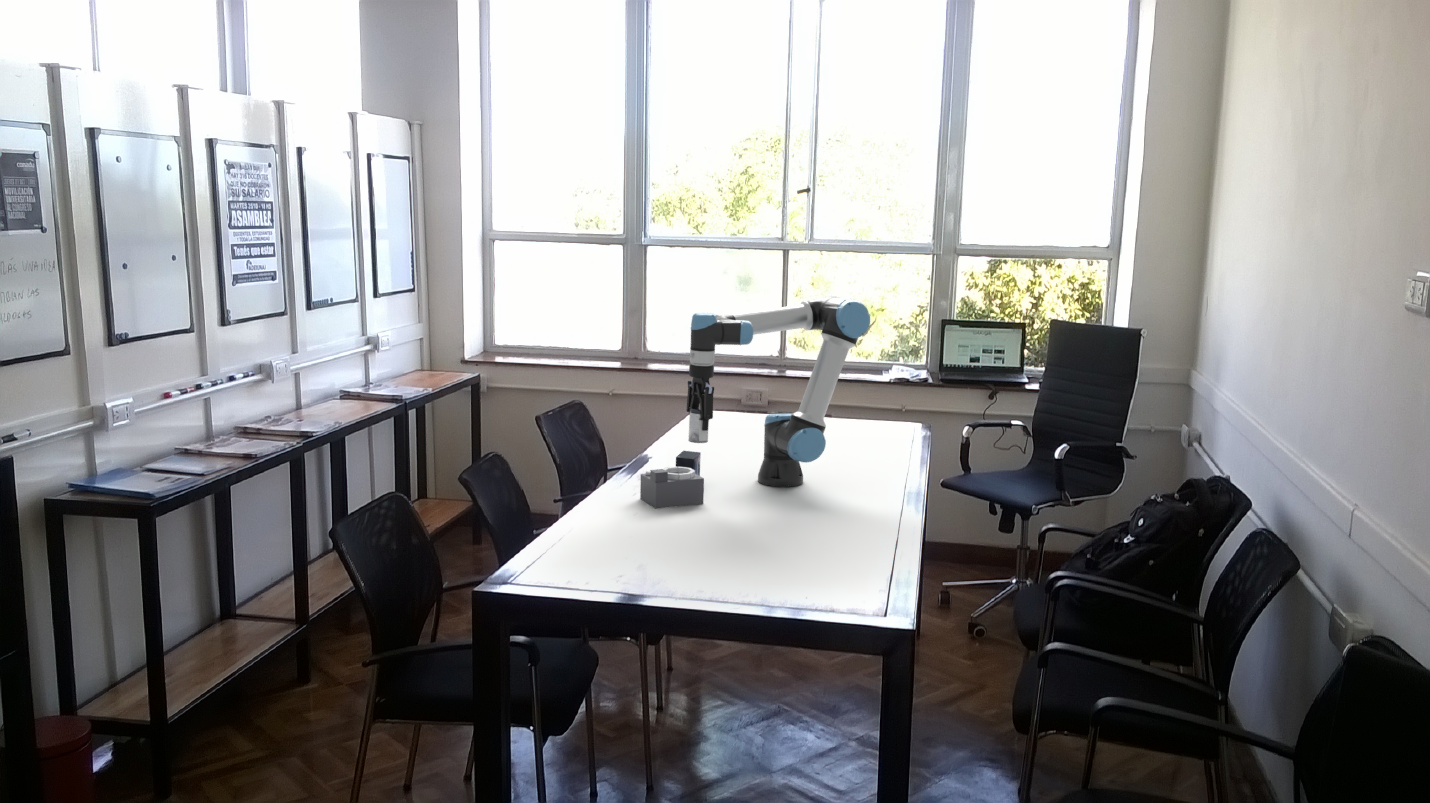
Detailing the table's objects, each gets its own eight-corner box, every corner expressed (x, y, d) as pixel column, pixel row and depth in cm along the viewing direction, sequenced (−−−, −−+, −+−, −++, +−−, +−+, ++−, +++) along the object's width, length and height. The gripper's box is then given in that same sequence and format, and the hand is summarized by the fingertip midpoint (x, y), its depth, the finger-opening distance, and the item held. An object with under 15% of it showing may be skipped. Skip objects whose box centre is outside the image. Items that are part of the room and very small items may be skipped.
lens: (702, 438, 342) (704, 407, 341) (711, 442, 337) (712, 410, 335) (685, 439, 340) (686, 407, 338) (693, 443, 334) (695, 411, 333)
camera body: (686, 494, 349) (687, 460, 347) (703, 503, 338) (704, 468, 336) (640, 498, 342) (640, 464, 340) (655, 508, 331) (656, 473, 329)
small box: (693, 490, 354) (694, 458, 352) (674, 488, 355) (674, 457, 353) (700, 482, 364) (701, 451, 362) (681, 480, 365) (682, 450, 364)
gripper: (677, 359, 341) (674, 432, 345) (704, 368, 324) (701, 445, 328) (699, 359, 344) (695, 431, 348) (727, 368, 328) (723, 444, 332)
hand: (698, 438), depth 338 cm, fingers closed on lens, 6 cm apart
